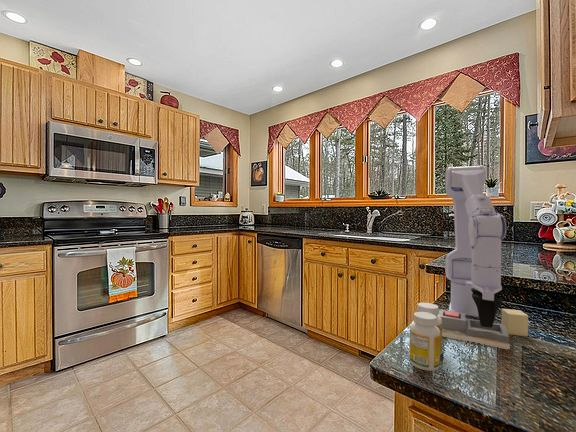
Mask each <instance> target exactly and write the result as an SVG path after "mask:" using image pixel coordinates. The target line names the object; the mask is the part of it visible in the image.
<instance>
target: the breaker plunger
mask: <svg viewBox="0 0 576 432" xmlns="http://www.w3.org/2000/svg"><path fill="white" fill-rule="evenodd" d="M445 316H447V317H453V318H459V313H458V312H451V311H449V310H446V311H445Z"/></svg>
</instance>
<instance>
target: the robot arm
mask: <svg viewBox="0 0 576 432" xmlns="http://www.w3.org/2000/svg"><path fill="white" fill-rule="evenodd" d="M444 176H445V177H444V178H445V179H444V182H445V183H444V186H445V192H446V193H445V194H446V196H448V197H450V198H451V199H452V203H453V216H454V217H453V219H454V242H455V243H454V244H455V249H453V250H452V251H449V253H447V254H446V256H445V263H444V264H445V265H444V270H445V272H444V274H445V277H446V279H447V280H449V281H450V302H449V307H448V311H452V312H459V313H465V316H470V317H476V318H479V319H478V320H479V321H480V324H481V326H483V327H489V328H492V326H493V323H495V318H496V315H497V312H498V310H499V308H500V307H501V305H502V304H503V298H497V297H499V295H500V291H502V290H503V286H502V240H504V239H505V237H506V235H507V222H506V219H505V216H504V215H503V214H500V212H497V211H496V210H495V207H494V204H493V202H492V200H491V198H490V196H488V195H486V194H484V190H483V187H484V185H485V183H486V180H487V170H486V168H485V166H484V165H481V164H480V165H475V166H474V165H472V166H471V165H470V166H448V167H447V168H446V169H445V175H444Z"/></svg>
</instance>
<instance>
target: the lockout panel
mask: <svg viewBox="0 0 576 432" xmlns="http://www.w3.org/2000/svg"><path fill="white" fill-rule="evenodd" d="M445 311H447V310H445V309H439V312H438V314H437V315H438V316H439V317H441V319H442V338H448V339H454V340H457V341H458V340H459V341H462V340H463V341H464V342H467V341H469V342H468V343H472V342H475V343H474V344H477V343H480V344H479V345H482V344H485V345H484V346H487V345H490V346H489V347H492V346H494V347H493V348H497V347H498V349H504V350H508V349H509V350H511V347H510V346H511V345H510V334H508V333H507V330H506V328H505V325H504V324H502V323H497V322H494V323H493V326H492V328H489V327H483V326H481V324H480V321H479V319H473V318H467V317H466V316H467V315H465V313H459V312H458V313H459V318H453V317H447V316H445ZM451 312H452V311H451Z"/></svg>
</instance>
